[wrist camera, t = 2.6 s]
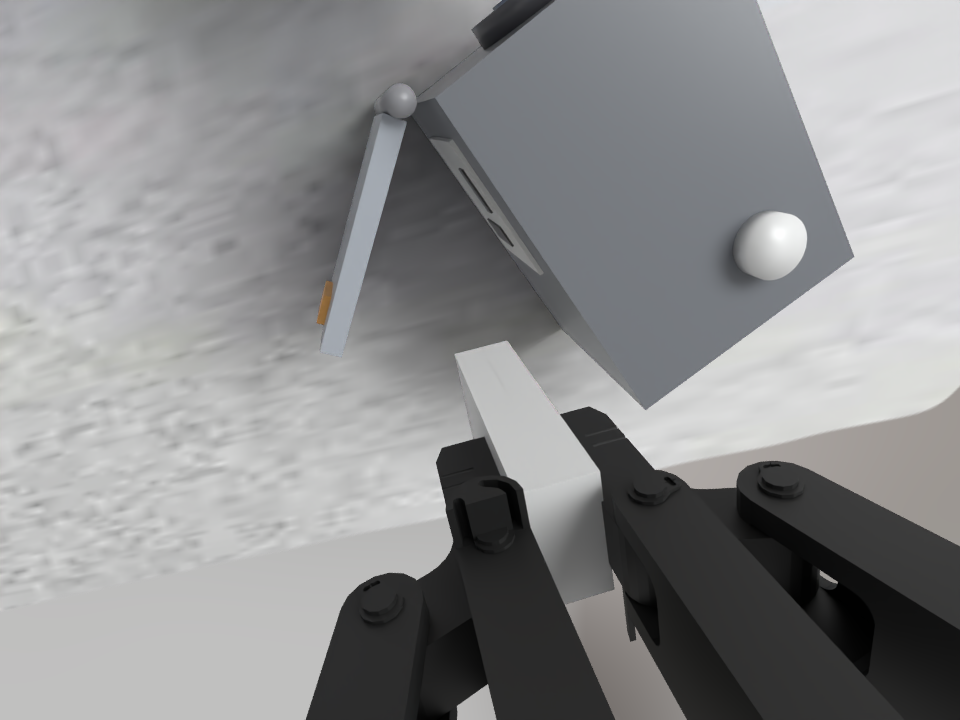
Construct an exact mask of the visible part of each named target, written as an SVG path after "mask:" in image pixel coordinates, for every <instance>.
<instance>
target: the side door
mask: <svg viewBox="0 0 960 720" xmlns="http://www.w3.org/2000/svg"><path fill="white" fill-rule="evenodd" d="M416 105H417V99H416V95H415V93H414V91H413V90H412V89H411V88H410V87H409V86H408V85H406V84H402V83H397V84H394V85H392V86H391V87H389V88H388V89H387V90H386V91H385V92H384V93H383V94H382V95H381V96H380V97H379V98H378V99H377V100H376V102H375V105H374V109H375V113H376V116H374V119H373V123H372V127H371V131H370V135H369V138H368V142H367V146H366V150H365V154H364V158H363V161H362V165H361V169H360V173H359V177H358V181H357V184H356V188H355V192H354V196H353V200H352V204H351V207H350V211H349V215H348V219H347V223H346V227H345V230H344V234H343V238H342V242H341V246H340V250H339V253H338V257H337V261H336V265H335V269H334V273H333V276H332V280H331V282H330V281H326V283H325V286H324V290H323V294H322V298H321V302H320V306H319V312H318V317H317V323H318V324H322V325H323V332H322V339H321V347H320V352H321V353H325V354H330V355H334V356H338V357H342V354H343V351H344V347H345V343H346V340H347V336H348V333H349V329H350V325H351V322H352V318H353V315H354V311H355V307H356V304H357V300H358V297H359V293H360V289H361V286H362V282H363V279H364V275H365V271H366V268H367V264H368V261H369V257H370V254H371V250H372V246H373V243H374V239H375V236H376V232H377V228H378V225H379V221H380V218H381V214H382V210H383V207H384V203H385V200H386V196H387V192H388V189H389V185H390V182H391V178H392V174H393V171H394V167H395V164H396V160H397V156H398V153H399V149H400V146H401V142H402V138H403V135H404V131H405V128H406V124H407V122H406V121H403V120H400V119H401V118H406V117H409V116H410V115H411V114H412V113H413V112H414V111H415V108H416Z"/></svg>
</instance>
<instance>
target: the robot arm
mask: <svg viewBox="0 0 960 720" xmlns="http://www.w3.org/2000/svg"><path fill="white" fill-rule="evenodd" d="M454 355H455V359H456V364H457V368H458V373H459V377H460V381H461V386H462V390H463V395H464V399H465V404H466V408H467V413H468V417H469V421H470V426H471V430H472V435H473V440H470V441H466V442H462V443H459V444H455V445H451V446H447V447H444V448H442V449H441V452H440V454H439V457H438V459H437V461H436V465H437V469H438V473H439V477H440V482H441V486H442V490H443V494H444V499H445V503H446V514H447V518H448V521H449V525H450V529H451V533H452V537H453V545H452V548H451V551H450V553H449V554H448V556H447V558H446V559H445V560H444V561H443V562H442V563H441V564H440V565H439V566H438V567H437V568H436V569H434V570H433V571H431V572H430V573H429V574H427V575H425V576H424V577H422V578H420V579H418V580H417V581H416V579H414V578H412V577H410V576H408V575H406V574H402V573H387V574H383V575H379V576H375V577H373V578H371V579H369V580H368V581H366V582H364V583H362V584H361V585H359V586H358V587H357V588H356V589H355V590H354V591H353V592H352V593H351V594H350V595H349V596H348V597H347V599H346V601H345V602H344V604H343V606H342V608H341V610H340V613H339V617H338V620H337V623H336V626H335V629H334V632H333V635H332V639H331V642H330V645H329V648H328V651H327V654H326V658H325V661H324V664H323V667H322V670H321V674H320V676H319V680H318V683H317V687H316V690H315V692H314V696H313V699H312V702H311V705H310V708H309V711H308V714H307V717H306V720H457V705H458V704H460V703H462V702H463V701H464V700H466V699H467V698H469V697H470V696H471V695H473V694H474V693H476V692H477V691H478V690H480V689H481V688H483V687H484V686H485V685H487V684H488V685H489V689H490V694H491V698H492V702H493V706H494V710H495V714H496V719H497V720H615V718H614V716H613V714H612V711H611V709H610V707H609V704H608V702H607V700H606V698H605V695H604V693H603V691H602V689H601V686H600V684H599V682H598V679H597V677H596V675H595V673H594V671H593V668H592V666H591V664H590V661H589V659H588V657H587V655H586V652H585V650H584V648H583V645H582V643H581V641H580V639H579V636H578V634H577V632H576V630H575V627H574V625H573V623H572V620H571V618H570V616H569V614H568V612H567V609H566V607H565V604H568V603H572V602H575V601H578V600H582V599H585V598H588V597H591V596H594V595H598V594H601V593H604V592H607V591H611V590H614V582H613V574H612V569H613V571H614V573H615V574H616V576H617V578H618V580H619V581H620V583H621V585H622V588H623V597H624V606H625V614H626V622H627V631H628V635H629V638H630V641H634V640H636V634H635V627H636V629H637V630H638V632H639V634H640V636H641V638H642V640H643V641H644V643H645V645H646V647H647V649H648V650H649V652H650V654H651V656H652V657H653V659H654V661H655V663H656V665H657V666H658V668H659V670H660V672H661V674H662V675H663V677H664V679H665V681H666V683H667V685H668V686H669V688H670V690H671V692H672V693H673V695H674V697H675V699H676V701H677V703H678V704H679V706H680V708H681V710H682V712H683V713H684V715H685V717H686V718H687V720H960V546H958V545H956V544H954V543H952V542H950V541H948V540H946V539H944V538H942V537H940V536H938V535H936V534H934V533H933V532H930V531H929V530H927V529H924V528H923V527H921V526H919V525H917V524H915V523H913V522H911V521H909V520H907V519H905V518H903V517H901V516H899V515H897V514H895V513H893V512H891V511H889V510H887V509H885V508H883V507H881V506H879V505H878V504H875V503H874V502H872V501H870V500H868V499H866V498H864V497H862V496H860V495H858V494H856V493H854V492H852V491H850V490H848V489H846V488H844V487H842V486H840V485H838V484H836V483H834V482H832V481H830V480H828V479H827V478H825V477H823V476H821V475H819V474H817V473H815V472H813V471H810V470H809V469H806V468H804V467H801V466H798V465H796V464H793V463H787V462H780V461H767V462H758V463H755V464H752V465H749V466H747V467H746V468H745V469H743V470H742V471H741V472H740V473H739V475H738V479H737V488H722V489H692V488H690V487H689V486H688V485H687V484H686V483H685V482H684V481H683V480H682V479H680V478H679V477H677V476H676V475H674V474H671V473H668V472H665V471H661V470H654V469H653V467H652V466H651V465H650V464H649V463H648V462H647V461H646V459H645V458H644V457H643V456H642V455H641V454H640V452H639V451H638V450H637V449H636V448H635V447H634V446H633V444H632V443H631V442H630V441H629V440H628V439H627V438H625V435H624V434H623V433H622V432H621V431H620V430H619V428H618V429H617V426H616V425H615V424H614V423H613V422H612V420H611V419H610V418H609V417H608V416H607V415H606V414H604V413H602V412H600V411H598V410H596V409H593V408H591V407H585V408H582V409H578V410H574V411H571V412H567V413H563V414H559V413H558V411H557V410H556V408H555V407H554V406H553V404H552V403H551V401H550V400H549V399H548V397H547V396H546V394H545V393H544V392H543V390H542V389H541V387H540V386H539V384H538V383H537V382H536V380H535V379H534V377H533V376H532V375H531V373H530V372H529V370H528V369H527V368H526V366H525V365H524V363H523V362H522V361H521V359H520V358H519V356H518V355H517V353H516V352H515V351H514V349H513V348H512V346H511V345H510V344H509V342H508V341H503V342H499V343H495V344H491V345H487V346H483V347H480V348H476V349H472V350H468V351H464V352H460V353H456V354H454ZM820 570H821V571H823V572H824V573H825V574H827V575H829V576H830V577H831V578H833V579H834V580H836V581H838V584H836V583H832V582H830V581H828V580H826V579H825V578H823V577H822V576H820Z"/></svg>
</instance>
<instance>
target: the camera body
mask: <svg viewBox="0 0 960 720" xmlns="http://www.w3.org/2000/svg"><path fill="white" fill-rule="evenodd" d="M493 10H494V11H493V12H492V13H491V14H490V15H488V16H487V17H486V18H485V19H483V20H482V21H481V22H480V23H479V24H477V25H476V26H475V27H474V28H473V29H472V31H473V33H474V34H475V36H476V38H477V39H478V41H479V43H480V44H481V47H479V48H478V49H477V50H476V51H474V52H473V53H472V54H471V55H469V56H468V57H467V58H466V59H464V60H463V61H462V62H461V63H460V64H458V65H457V66H456V67H455V68H453V69H452V70H451V71H450V72H448V73H447V74H446V75H445V76H443V77H442V78H441V79H440V80H438V81H437V82H436V83H435V84H434V85H432V86H431V87H430V88H429V89H427V90H426V91H425V92H424V93H422V94H421V95H420V96H419V97H417V98H416V99H417V105H416V108H415V111H414V112H413V113H412V114H411V115H412V117H413V118H414V119H415V121H416V122H417V124H418V125H419V127H420V128H421V129H422V131H423V132H424V134H425V135H426V136H427V138H428V139H429V141H430V142H431V144H432V145H433V146H434V148H435V149H436V151H437V152H438V154H439V155H440V156H441V158H442V159H443V161H444V162H445V163H446V165H447V166H448V168H449V169H450V171H451V172H452V173H453V175H454V176H455V178H456V179H457V181H458V182H459V183H460V185H461V186H462V188H463V189H464V190H465V192H466V193H467V195H468V196H469V198H470V199H471V200H472V202H473V203H474V205H475V206H476V207H477V209H478V210H479V212H480V213H481V215H482V216H483V217H484V219H485V220H486V222H487V223H488V225H489V226H490V227H491V229H492V230H493V232H494V233H495V234H496V236H497V237H498V239H499V240H500V242H501V243H502V244H503V246H504V247H505V249H506V250H507V252H508V253H509V254H510V256H511V257H512V259H513V260H514V261H515V263H516V264H517V266H518V267H519V269H520V270H521V271H522V273H523V274H524V276H525V277H526V279H527V280H528V281H529V283H530V284H531V286H532V287H533V288H534V290H535V291H536V293H537V294H538V296H539V297H540V298H541V300H542V301H543V303H544V304H545V306H546V307H547V308H548V310H549V311H550V313H551V314H552V315H553V317H554V318H555V320H556V321H557V323H558V324H559V325H560V327H561V328H562V330H563V331H564V332H566V333H567V334H568V335H569V336H570V337H571V338H572V339H573V340H574V341H575V342H576V343H577V344H578V345H579V346H580V347H581V348H582V349H583V350H584V351H585V352H586V353H587V354H588V355H589V356H590V357H591V358H592V359H593V360H594V361H595V362H597V363H598V364H599V365H600V366H601V367H602V368H603V369H604V370H605V371H606V372H607V373H608V374H609V375H610V376H611V377H612V378H613V379H614V380H615V381H616V382H617V383H618V384H619V385H620V386H621V387H622V388H623V389H624V390H625V391H626V392H628V393H629V394H630V395H631V396H632V397H633V398H634V399H635V400H636V401H637V402H638V403H639V404H640V405H641V406H642V407H643V408H644V409H645V410H646V409H648V408H649V407H650V406H652V405H653V404H654V403H656V402H657V401H659V400H660V399H661V398H663V397H664V396H665V395H667V394H668V393H669V392H671V391H672V390H674V389H675V388H676V387H678V386H679V385H680V384H682V383H683V382H684V381H686V380H687V379H689V378H690V377H691V376H693V375H694V374H695V373H697V372H698V371H699V370H701V369H702V368H703V367H705V366H706V365H708V364H709V363H710V362H712V361H713V360H714V359H716V358H717V357H718V356H720V355H721V354H723V353H724V352H725V351H727V350H728V349H729V348H731V347H732V346H733V345H735V344H736V343H738V342H739V341H740V340H742V339H743V338H744V337H746V336H747V335H748V334H750V333H751V332H753V331H754V330H755V329H757V328H758V327H759V326H761V325H762V324H763V323H765V322H766V321H767V320H769V319H770V318H772V317H773V316H774V315H776V314H777V313H778V312H780V311H781V310H782V309H784V308H785V307H787V306H788V305H789V304H791V303H792V302H793V301H795V300H796V299H797V298H799V297H800V296H802V295H803V294H804V293H806V292H807V291H808V290H810V289H811V288H812V287H814V286H815V285H817V284H818V283H819V282H821V281H822V280H823V279H825V278H826V277H827V276H829V275H830V274H832V273H833V272H834V271H836V270H837V269H838V268H840V267H841V266H842V265H844V264H845V263H846V262H848V261H849V260H851V259H852V258H853V257H854V255H853V252H852V249H851V247H850V244H849V242H848V239H847V236H846V234H845V231H844V228H843V226H842V223H841V221H840V218H839V215H838V213H837V210H836V207H835V205H834V202H833V200H832V197H831V194H830V192H829V189H828V186H827V184H826V181H825V179H824V176H823V173H822V171H821V168H820V165H819V163H818V160H817V158H816V155H815V152H814V150H813V147H812V144H811V142H810V139H809V137H808V134H807V131H806V129H805V126H804V123H803V121H802V118H801V116H800V113H799V110H798V108H797V105H796V102H795V100H794V97H793V95H792V92H791V89H790V87H789V84H788V81H787V79H786V76H785V74H784V71H783V68H782V66H781V63H780V60H779V58H778V55H777V53H776V50H775V47H774V45H773V42H772V39H771V37H770V34H769V32H768V29H767V26H766V24H765V21H764V18H763V16H762V13H761V11H760V8H759V5H758V3H757V0H502V1H501V2H500V3H498V4H497V5H496V6H495V7H494V8H493Z"/></svg>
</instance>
